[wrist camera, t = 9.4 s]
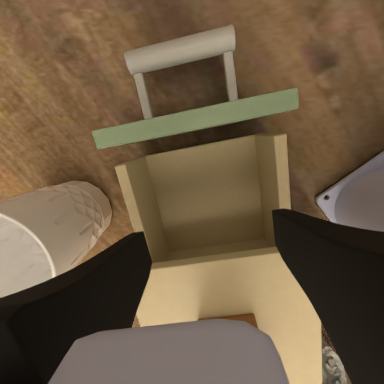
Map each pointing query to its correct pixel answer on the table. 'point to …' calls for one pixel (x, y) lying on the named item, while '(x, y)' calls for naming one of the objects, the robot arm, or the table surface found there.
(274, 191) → the drawer
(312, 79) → the table surface
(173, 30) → the table surface
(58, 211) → the white cup
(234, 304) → the shallow tan box
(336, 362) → the egg carton
